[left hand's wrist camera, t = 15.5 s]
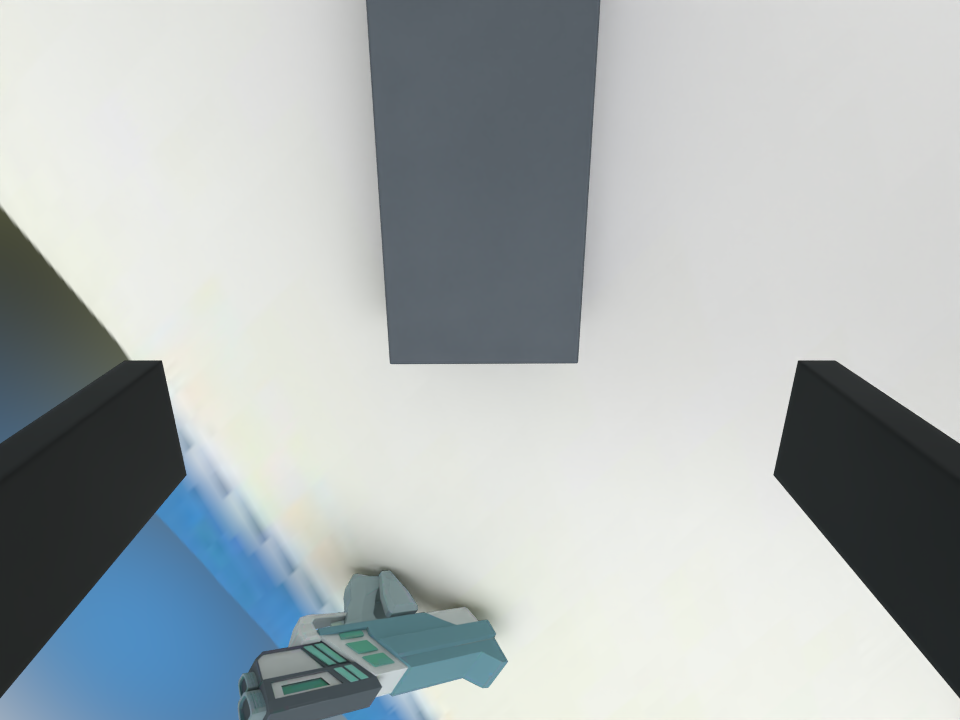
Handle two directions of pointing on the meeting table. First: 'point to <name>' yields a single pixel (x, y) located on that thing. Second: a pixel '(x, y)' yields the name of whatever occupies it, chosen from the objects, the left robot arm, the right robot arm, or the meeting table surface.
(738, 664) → the meeting table surface
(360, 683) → the toy gun
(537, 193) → the dark grey long bar
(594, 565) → the meeting table surface
